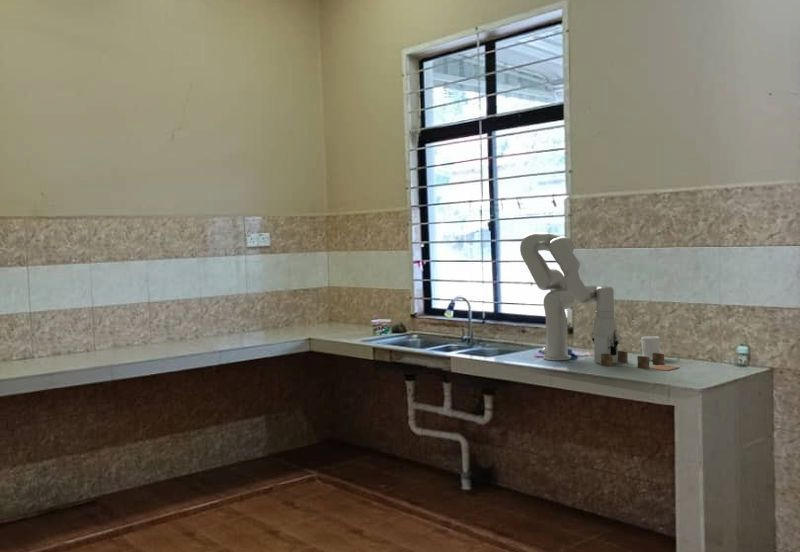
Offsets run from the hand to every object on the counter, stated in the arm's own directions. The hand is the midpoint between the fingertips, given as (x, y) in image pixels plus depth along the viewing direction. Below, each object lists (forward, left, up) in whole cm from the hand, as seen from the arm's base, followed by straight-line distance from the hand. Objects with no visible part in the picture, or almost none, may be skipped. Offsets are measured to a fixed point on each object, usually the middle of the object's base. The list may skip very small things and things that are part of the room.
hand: (606, 353), depth 336 cm
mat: (+25, +5, -4) cm, 26 cm away
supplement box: (0, 0, -4) cm, 4 cm away
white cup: (+9, +20, -4) cm, 22 cm away
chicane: (+12, +3, -4) cm, 13 cm away
